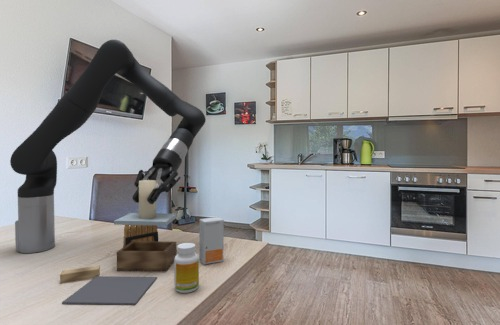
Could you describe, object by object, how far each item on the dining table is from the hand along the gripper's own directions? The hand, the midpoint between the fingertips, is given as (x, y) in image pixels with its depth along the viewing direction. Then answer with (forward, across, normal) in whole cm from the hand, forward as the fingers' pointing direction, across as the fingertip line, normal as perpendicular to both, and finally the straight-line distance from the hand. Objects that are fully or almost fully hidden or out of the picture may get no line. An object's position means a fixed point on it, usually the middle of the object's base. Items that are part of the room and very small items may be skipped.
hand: (142, 201), depth 74 cm
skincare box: (+5, +15, +20) cm, 26 cm away
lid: (+3, 0, +5) cm, 6 cm away
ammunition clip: (+5, -10, +20) cm, 23 cm away
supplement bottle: (+16, +18, +9) cm, 26 cm away
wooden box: (+11, 0, +14) cm, 18 cm away
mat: (+21, +3, +4) cm, 22 cm away
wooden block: (+21, -9, +5) cm, 23 cm away
